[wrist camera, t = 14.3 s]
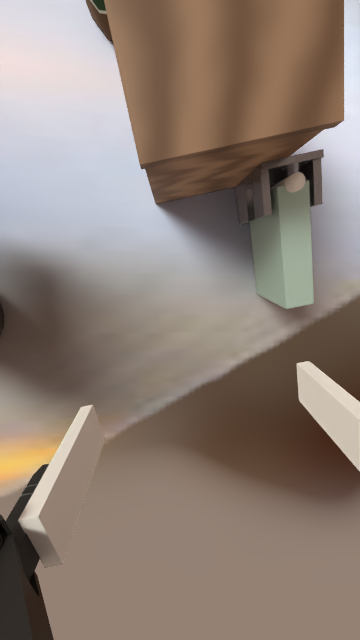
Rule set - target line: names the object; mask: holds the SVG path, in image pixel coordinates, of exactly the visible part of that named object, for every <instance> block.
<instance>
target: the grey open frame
mask: <svg viewBox="0 0 360 640" xmlns="http://www.w3.org/2000/svg"><path fill="white" fill-rule="evenodd" d="M322 157H324V153H323V149H322V150H318V151H313V152H308V153H304V154H299V155H295V156H290V157H285V158H281V159H276V160H271V161H267V162H262V163H260V164H259V165H258V166H257V167H256V168H255V169H254V170H253V171H252V172H251V173H250V174H249V175H247V176H246V177H245V178H244V179H243V180H242V181H241V182H240V183H239V184H238V185H237V186H236V187H235V190H236V199H237V207H238V215H239V224H244V223H247V222H250V221H253V220H255V219H258V218H262V217H265V216H268V215H271V214H272V208H271V196H270V185H271V184H274V185H276V184H277V183H279V182H281V181H282V180H284V179H286V178H287V177H289V176H291V175H292V174H294V173H296V172H301V173H302V174H304V176H305V181H308V180H309V192H310V207H312V206H316V205H319V204H322V176H321V158H322ZM252 192H253V196H252ZM253 202H254V206H253ZM254 212H255V216H254Z"/></svg>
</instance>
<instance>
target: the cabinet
mask: <svg viewBox="0 0 360 640" xmlns="http://www.w3.org/2000/svg"><path fill="white" fill-rule="evenodd" d="M104 3H105V8H106V12H107V17H108V21H109V26H110V30H111V35H112V40H113V44H114V49H115V53H116V58H117V62H118V67H119V71H120V76H121V81H122V85H123V90H124V94H125V99H126V103H127V108H128V112H129V117H130V122H131V126H132V131H133V135H134V140H135V144H136V149H137V153H138V158H139V163H140V166H141V169H145V170H146V173H147V176H148V180H149V183H150V186H151V190H152V193H153V196H154V200H155V203H156V204H158V203H163V202H168V201H172V200H177V199H182V198H186V197H191V196H196V195H200V194H205V193H210V192H214V191H219V190H223V189H228V188H233V187H236V186H237V185H238V184H239V183H240V182H241V181H242V180H243V179H244V178H245V177H246V176H247V175H249V174H250V173H251V172H252V171H253V170H254V169H255V168H256V167H257V166H258V165H259V164H260V163H262V162H267V161H271V160H276V159H281V158H285V157H289V156H290V155H291V154H293V153H294V152H295V151H296V150H298V149H299V148H300V147H302V146H303V145H304V144H306V143H307V142H308V141H310V140H311V139H312V138H313V137H315V136H316V135H317V134H319V133H320V132H321V131H323V130H324V129H328V128H333V127H335V126H337V125H338V124H339V123H341V122H342V121H344V0H104Z"/></svg>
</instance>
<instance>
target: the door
mask: <svg viewBox="0 0 360 640" xmlns="http://www.w3.org/2000/svg"><path fill="white" fill-rule="evenodd" d="M270 196H271V208H272V214H271V215H268V216H265V217H262V218H258V219H255V220H253V221H250V222H249V225H250V234H251V243H252V253H253V262H254V271H255V280H256V289H257V294H258V295H260V296H262V297H264V298H266V299H268V300H270V301H272V302H274V303H276V304H277V305H279V306H281V307H283V308H285V309H289V308H294V307H299V306H304V305H309V304H313V303H314V297H313V271H312V244H311V218H310V192H309V180H308V181H305V176H304V174H302V173H301V172H296V173H294V174H292V175H291V176H289V177H287V178H286V179H284V180H282V181H281V182H279V183H277V184H276V185H274V186H272V187H271V188H270ZM253 206H254V202H253ZM254 216H255V212H254Z"/></svg>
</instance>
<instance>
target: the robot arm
mask: <svg viewBox="0 0 360 640" xmlns="http://www.w3.org/2000/svg"><path fill="white" fill-rule="evenodd" d="M3 323H4V318H3V311H2V308H1V305H0V334H1V331H2V328H3ZM297 376H298V393H299V401H300V402H301V403H302V404H303V406H304V407H305V408H306V409H307V410H308V411H309V413H310V414H311V415H312V416H313V417H314V419H315V420H316V421H317V422H318V423H319V424H320V425H321V427H322V428H323V429H324V430H325V431H326V433H327V434H328V435H329V436H330V437H331V438H332V440H333V441H334V442H335V443H336V444H337V445H338V446H339V448H340V449H341V450H342V451H343V452H344V454H345V455H346V456H347V457H348V458H349V460H350V461H351V462H352V463H353V464H354V465H355V466H356V468H357V469H358V470H359V471H360V402H359V401H358V400H356V399H355V398H354V397H353V396H351V395H350V394H349V393H348V392H346V391H345V390H344V389H343V388H341V387H340V386H339V385H338V384H336V383H335V382H334V381H333V380H331V379H330V378H329V377H328V376H327V375H325V374H324V373H323V372H322V371H320V370H319V369H318V368H317V367H315V366H314V365H313V364H312V363H310V362H309V361H307V362H301V363H297ZM104 441H105V437H104V434H103V431H102V429H101V426H100V423H99V420H98V418H97V415H96V412H95V409H94V407H93V405H88V406H83V407H81V408H80V410H79V412H78V413H77V415H76V417H75V419H74V421H73V422H72V424H71V426H70V428H69V430H68V431H67V433H66V435H65V437H64V439H63V440H62V442H61V444H60V446H59V448H58V449H57V451H56V453H55V455H54V457H53V458H52V460H51V462H50V464H46V465H42V466H41V467H40V468H39V469H38V471H37V472H36V473H35V474H34V475H33V476H32V478H31V480H30V481H29V483H28V485H27V487H26V488H25V490H24V491H23V493H22V496H21V497H20V498H19V500H18V501H17V503H16V505H15V506H14V508H13V510H12V511H11V513H10V515H9V517H8V518H7V520H6V521H5V520H4V519H3V517H2V515H0V640H54V639H53V635H52V631H51V627H50V624H49V620H48V616H47V612H46V608H45V604H44V600H43V596H42V592H41V588H40V584H39V581H38V576H37V574H36V573H35V568H36V566H37V563H38V561H39V559H40V560H41V562H42V564H43V566H44V567H45V568H47V567H52V566H58V565H63V564H64V561H65V558H66V555H67V552H68V549H69V546H70V543H71V540H72V537H73V534H74V531H75V528H76V525H77V522H78V519H79V516H80V513H81V510H82V507H83V504H84V501H85V498H86V495H87V492H88V489H89V486H90V483H91V480H92V477H93V474H94V471H95V468H96V465H97V462H98V459H99V456H100V453H101V450H102V447H103V444H104Z"/></svg>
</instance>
